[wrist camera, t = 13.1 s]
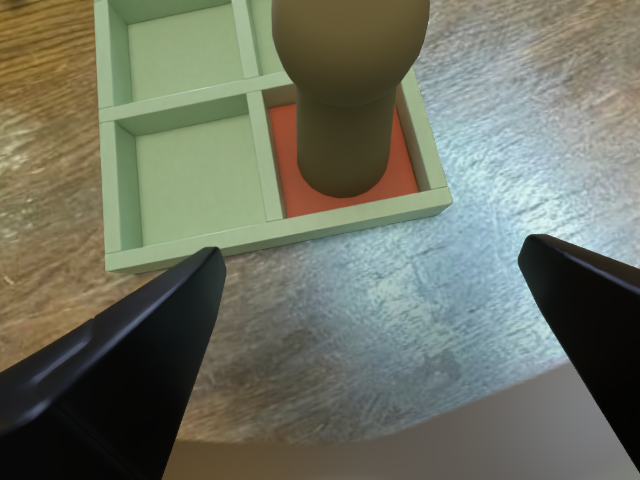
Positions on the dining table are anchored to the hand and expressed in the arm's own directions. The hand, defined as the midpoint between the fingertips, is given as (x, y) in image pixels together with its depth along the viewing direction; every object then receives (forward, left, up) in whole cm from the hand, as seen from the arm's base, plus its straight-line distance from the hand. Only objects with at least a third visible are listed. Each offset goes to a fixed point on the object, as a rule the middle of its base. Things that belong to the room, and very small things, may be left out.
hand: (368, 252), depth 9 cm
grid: (+22, +4, -10) cm, 24 cm away
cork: (+8, -1, -9) cm, 12 cm away
